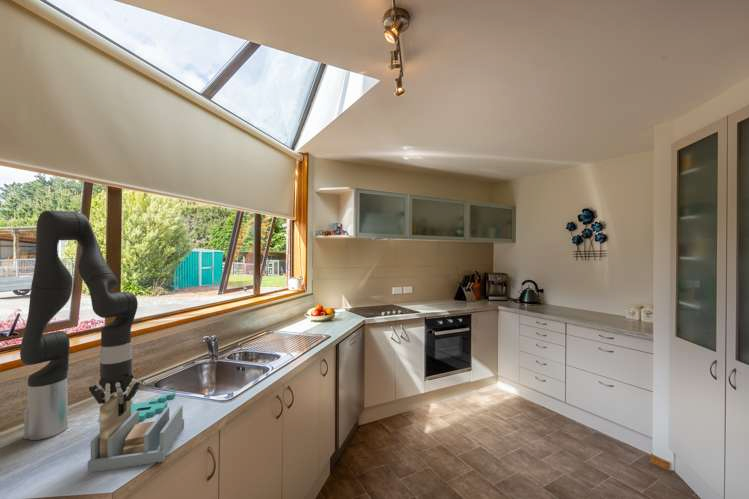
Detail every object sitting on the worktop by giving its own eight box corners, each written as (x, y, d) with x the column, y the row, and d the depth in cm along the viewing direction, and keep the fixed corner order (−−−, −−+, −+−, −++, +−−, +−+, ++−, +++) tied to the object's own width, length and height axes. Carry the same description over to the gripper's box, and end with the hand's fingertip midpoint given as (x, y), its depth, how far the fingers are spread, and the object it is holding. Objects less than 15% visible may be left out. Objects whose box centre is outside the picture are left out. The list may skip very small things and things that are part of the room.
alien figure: (118, 403, 126) (87, 432, 106) (118, 398, 126) (87, 425, 106) (175, 397, 131) (155, 423, 112) (175, 392, 131) (155, 417, 112)
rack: (87, 472, 86) (87, 443, 86) (122, 435, 104) (122, 411, 104) (162, 461, 91) (162, 434, 91) (184, 427, 108) (184, 404, 108)
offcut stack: (121, 462, 91) (121, 443, 91) (136, 439, 102) (136, 422, 102) (148, 457, 93) (148, 439, 93) (159, 434, 105) (159, 418, 104)
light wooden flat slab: (99, 463, 89) (99, 406, 89) (123, 437, 102) (123, 387, 102) (107, 462, 90) (108, 406, 90) (130, 436, 102) (131, 386, 102)
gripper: (81, 364, 90) (81, 425, 90) (136, 360, 94) (136, 418, 94) (96, 356, 98) (97, 411, 98) (148, 352, 101) (148, 406, 101)
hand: (116, 414), depth 96 cm, fingers closed on light wooden flat slab, 2 cm apart
